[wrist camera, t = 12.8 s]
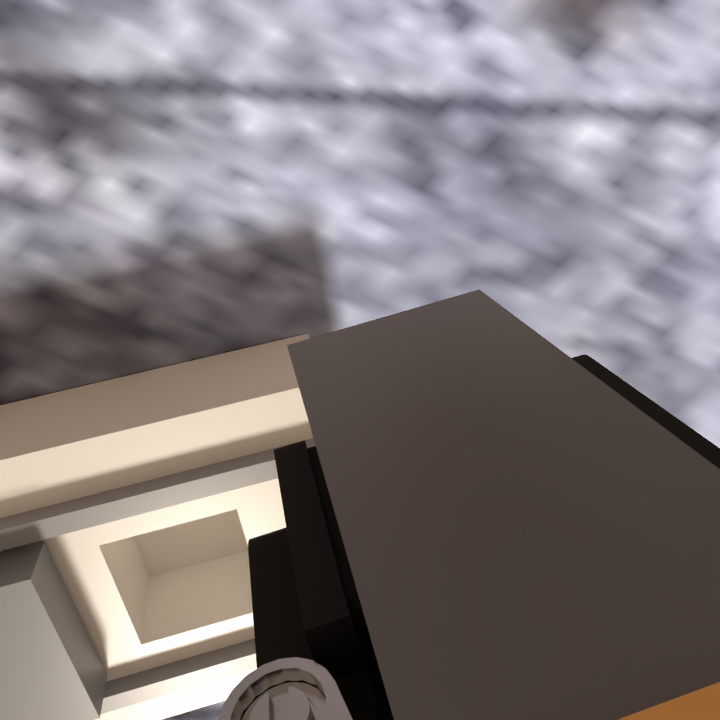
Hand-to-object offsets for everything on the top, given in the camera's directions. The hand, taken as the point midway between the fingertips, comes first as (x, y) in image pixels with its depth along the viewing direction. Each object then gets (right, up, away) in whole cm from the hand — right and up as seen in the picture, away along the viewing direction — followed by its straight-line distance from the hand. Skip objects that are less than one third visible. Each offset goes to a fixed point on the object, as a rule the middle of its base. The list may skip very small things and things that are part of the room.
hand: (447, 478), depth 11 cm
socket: (-12, -5, +18) cm, 23 cm away
